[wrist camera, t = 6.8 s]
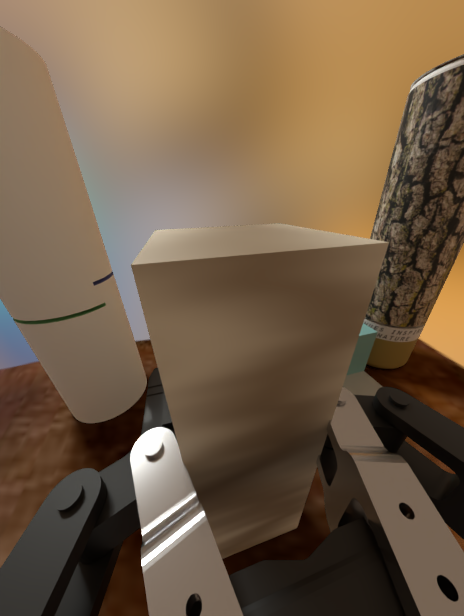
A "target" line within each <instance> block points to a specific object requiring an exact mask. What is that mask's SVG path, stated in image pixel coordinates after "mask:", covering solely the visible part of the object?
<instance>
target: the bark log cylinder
mask: <svg viewBox="0 0 464 616" xmlns="http://www.w3.org/2000/svg"><path fill="white" fill-rule="evenodd" d="M410 90H411V91H410V93H409V95H408V98H407V101H406V105H405V109H404V112H403V116H402V120H401V124H400V128H399V131H398V135H397V139H396V143H395V146H394V150H393V154H392V158H391V162H390V166H389V169H388V173H387V177H386V181H385V184H384V188H383V192H382V196H381V199H380V203H379V207H378V211H377V215H376V218H375V222H374V226H373V230H372V233H371V237H370V239H373V240H379V241H384V242H389V244H388V248H387V251H386V254H385V257H384V260H383V263H382V266H381V269H380V272H379V275H378V279H377V282H376V285H375V288H374V291H373V294H372V297H371V300H370V303H369V307H368V310H367V313H366V316H365V319H364V322H363V323H364V324H365V325H367V326H369V327H370V328H372V329H374V330H375V331H377V332H378V333H377V335H376V338H375V341H374V344H373V347H372V350H371V352H370V355H369V358H368V361H367V365H370V366H373V367H377V368H382V369H395V368H398V367H401V366H403V365H405V364H406V362H407V361H408V359H409V357H410V355H411V352H412V350H413V348H414V346H415V344H416V342H417V340H418V338H419V336H420V334H421V332H422V330H423V328H424V326H425V323H426V321H427V319H428V317H429V315H430V313H431V311H432V309H433V306H434V304H435V302H436V300H437V298H438V296H439V294H440V292H441V290H442V288H443V285H444V283H445V281H446V279H447V277H448V275H449V273H450V271H451V268H452V266H453V264H454V262H455V260H456V258H457V256H458V253H459V252H460V249H461V247H462V245H463V243H464V54H463V55H461V56H458V57H456V58H454V59H451V60H449V61H447V62H445V63H443V64H441V65H439V66H437V67H435V68H433V69H431V70H430V71H428V72H426V73H425V74H423V75H422V76H420V77H419V78H418V79H417V80H416V81H415V82H414V83H413V84H412V86H411V88H410Z"/></svg>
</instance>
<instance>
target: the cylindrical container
mask: <svg viewBox="0 0 464 616" xmlns="http://www.w3.org/2000/svg"><path fill="white" fill-rule="evenodd" d="M0 299H1V301H2V302H3V304H4V305H5V307H6V308H7V310H8V312H9V313H10V315H11V317H13V319H14V321H15V323H16V325H17V326H18V328H19V329H20V331H21V333H22V334H23V336H24V337H25V339H26V340H27V342H28V344H29V345H30V347H31V348H32V350H33V352H34V353H35V355H36V357H37V358H38V360H39V361H40V363H41V365H42V366H43V368H44V369H45V371H46V373H47V374H48V376H49V378H50V379H51V381H52V382H53V384H54V386H55V387H56V389H57V390H58V392H59V394H60V395H61V397H62V398H63V400H64V402H65V403H66V405H67V406H68V408H69V410H70V411H71V413H72V414H73V416H74V417H75V418H76V419H77V420H78V421H80V422H84V423H98V422H103V421H106V420H109V419H112V418H114V417H116V416H118V415H120V414H122V413H123V412H125V411H127V410H128V409H129V408H130V407H132V406H133V405H134V404H135V403H136V402H137V401H138V400H139V399H140V397H141V396H142V394H143V393H144V391H145V389H146V385H147V378H146V375H145V372H144V368H143V365H142V362H141V359H140V356H139V353H138V349H137V346H136V343H135V340H134V337H133V334H132V331H131V327H130V325H129V321H128V318H127V315H126V312H125V309H124V306H123V303H122V300H121V296H120V293H119V290H118V287H117V284H116V281H115V278H114V275H113V272H112V269H111V266H110V263H109V259H108V256H107V253H106V250H105V247H104V244H103V240H102V237H101V234H100V231H99V228H98V224H97V222H96V218H95V215H94V212H93V209H92V205H91V202H90V199H89V196H88V193H87V190H86V187H85V183H84V180H83V177H82V174H81V171H80V168H79V165H78V162H77V159H76V156H75V153H74V149H73V147H72V143H71V140H70V137H69V134H68V131H67V128H66V125H65V122H64V118H63V115H62V112H61V109H60V106H59V103H58V100H57V97H56V94H55V90H54V87H53V84H52V81H51V78H50V75H49V72H48V69H47V66H46V63H45V62H44V61H43V59H42V58H41V56H40V55H39V54H38V53H37V52H36V51H34V50H33V49H32V48H31V47H30V46H29V45H27V44H26V43H25V42H24V41H22V40H21V39H20V38H18V37H17V36H15V35H13V34H12V33H10V32H8V31H7V30H5V29H3V28H2V27H0Z"/></svg>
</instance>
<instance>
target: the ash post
mask: <svg viewBox="0 0 464 616" xmlns="http://www.w3.org/2000/svg"><path fill="white" fill-rule="evenodd" d="M388 244H389V242H384V241H379V240H373V239H367V238H361V237H355V236H350V235H344V234H338V233H332V232H326V231H321V230H314V229H309V228H303V227H297V226H292V225H286V224H280V223H278V224H261V225H242V226H223V227H206V228H188V229H168V230H155V232H154V233H153V234H152V236H151V237H150V239H149V240H148V242H147V243H146V244H145V246H144V247H143V249H142V250H141V251H140V253H139V254H138V256H137V257H136V259H135V260H134V261H133V263H132V264H131V267H132V270H133V274H134V278H135V282H136V286H137V289H138V293H139V297H140V301H141V305H142V309H143V312H144V316H145V320H146V323H147V327H148V332H149V335H150V339H151V343H152V347H153V351H154V354H155V358H156V362H157V366H158V370H159V374H160V377H161V381H162V385H163V389H164V393H165V396H166V400H167V404H168V408H169V412H170V416H171V419H172V423H173V427H174V431H175V435H176V438H177V442H178V446H179V450H180V454H181V458H182V461H183V464H185V465H186V468H187V470H188V473H189V476H190V478H191V481H192V484H193V487H194V489H195V492H196V495H197V497H198V499H199V501H200V503H201V505H202V507H203V510H204V512H205V515H206V518H207V520H208V523H209V525H210V528H211V531H212V533H213V536H214V539H215V541H216V544H217V547H218V549H219V552H220V555H221V557H222V559H223V558H226V557H228V556H231V555H233V554H235V553H238V552H240V551H243V550H245V549H248V548H250V547H252V546H255V545H257V544H260V543H262V542H265V541H267V540H269V539H272V538H274V537H277V536H279V535H281V534H284V533H286V532H289V531H291V530H294V529H296V528H297V527H298V524H299V521H300V518H301V515H302V511H303V508H304V505H305V502H306V499H307V496H308V493H309V490H310V487H311V483H312V480H313V477H314V474H315V471H316V468H317V464H316V461H317V458H318V455H321V452H322V449H323V446H324V443H325V440H326V437H327V434H328V432H327V430H326V429H327V426H328V423H329V420H332V418H333V415H334V412H335V409H336V406H337V403H338V400H339V397H340V393H341V390H342V387H343V384H344V381H345V378H346V375H347V372H348V369H349V365H350V362H351V359H352V356H353V353H354V350H355V347H356V344H357V341H358V338H359V334H360V331H361V328H362V325H363V322H364V319H365V316H366V313H367V310H368V307H369V303H370V300H371V297H372V294H373V291H374V288H375V285H376V282H377V279H378V275H379V272H380V269H381V266H382V263H383V260H384V257H385V254H386V251H387V248H388Z"/></svg>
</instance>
